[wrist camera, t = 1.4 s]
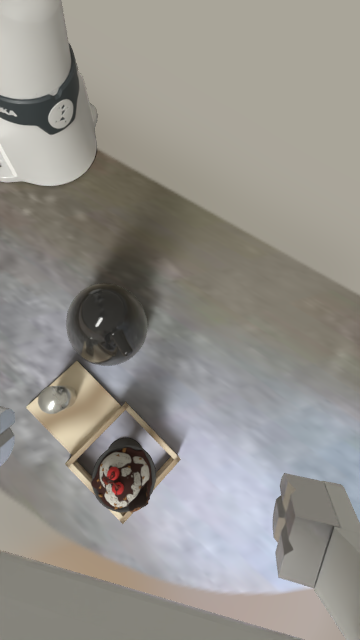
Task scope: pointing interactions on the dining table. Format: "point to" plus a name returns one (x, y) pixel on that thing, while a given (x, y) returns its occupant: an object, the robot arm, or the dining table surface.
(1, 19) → the robot arm
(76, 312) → the pump dispenser
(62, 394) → the wooden frame tray
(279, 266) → the dining table surface
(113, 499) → the sundae
